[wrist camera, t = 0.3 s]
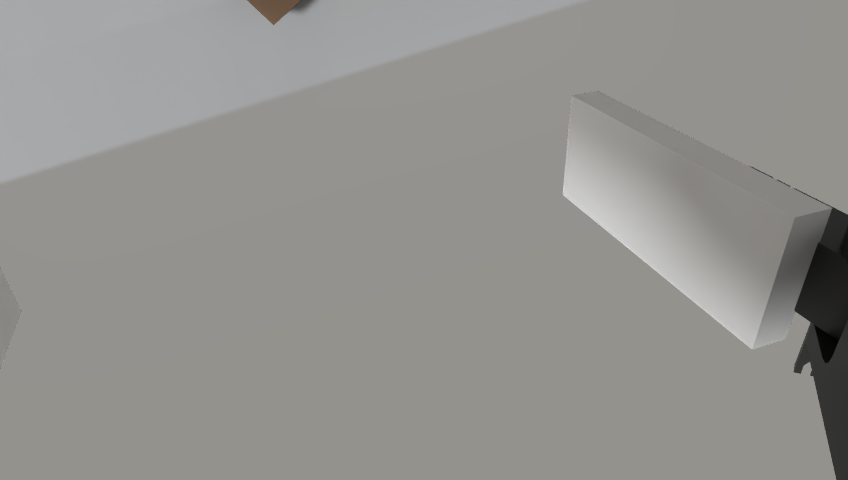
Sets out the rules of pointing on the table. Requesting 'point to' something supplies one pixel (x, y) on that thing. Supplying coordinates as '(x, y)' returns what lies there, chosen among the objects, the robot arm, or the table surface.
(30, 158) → the table surface
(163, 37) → the table surface
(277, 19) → the gear board
